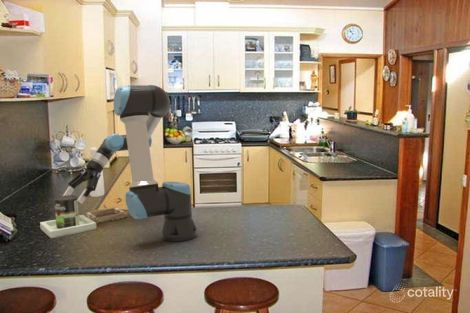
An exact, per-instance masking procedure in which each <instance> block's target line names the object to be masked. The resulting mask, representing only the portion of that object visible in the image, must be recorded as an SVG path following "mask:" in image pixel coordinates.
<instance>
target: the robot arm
mask: <svg viewBox="0 0 470 313" xmlns="http://www.w3.org/2000/svg"><path fill="white" fill-rule="evenodd" d="M170 108H171V100H170V97H169V95H168V93H167V92H166V90H164V89H163V88H161V86H157V85H154V84H150V85H144V84H143V85H138V84H137V85H121V86H119V87H117V88H116V90H115V92H114V96H113V111H114V114H115V116H118V117H119V120H120V121H121V122H122V123H123V124H124V127H125V128H124V129H125V130H124V131H125V134H119V133H112V134H110V135H107V136H106V137H105V138H104V139H103V141H102V143H101V144H100V145H99V147H98V148H97V151H96V152H95V154H94V155H93V157H92V158H91V157H90V160H89V161H88V162H87V164H86V170H84V169H81V170H80V172H79V173H78V174H76V176H75V177H73V178H72V179H71V180H69V182H68V183H67V185H68V187H67V189H66V190H65V192H64V193H63V195H62V196H67V195H72V194H73V192H74V191H75V190H76V189H75V188H76V187H78V186H79V185H81V184H82V183H83V182H86V181H87V182H86V187H85V189H84V190H83V191H82V193H81V194H80V195H79V196H78V200H77V201H78V203H80V204H81V205H82V204H84V202H85V200H86V199H87V198H88V196H90V192H92V191H95V189H96V186H97V183H98V180H99V178H100V176H101V174H100V173H101V172H102V170H103V171H104V168H105V167H106V165H107V164H108V162H109V161H110V159H111V158H112V157H113V156H114V154H115V153H116V152H122V151H128V158H129V167H130V173H131V174H130V175H131V183H130V185H129V186H128V188H129V190H128V191H126V192H125V204H126V208H127V210H128V213H129V215H130V216H131V217H132V218H133V219H135V220H142V219H148V218H154V217H159V216H164V218H163V219H164V220H163V223H162V228H161V231H160V234H161V235H160V237H161V239H162V240H163V241H167V242H183V241H189V240H192V239H195V238H196V237H197V236H198V230H197V229H198V228H197V226H196V225H195V222H194V219H193V209H192V191H191V186H190V185H189V184H188V183H186V182H180V181H165V182H162V185H161V186H159V183H158V181H156V180H155V179H154V172H153V164H152V158H151V150H150V148H151V147H152V142H153V139H152V135H153V133H154V131H155V130H156V128H157V126H158V125H159V123H160V121H161V120H162V118H164V117H166V115H167V114H168V112H169V111H170ZM93 187H94V188H93Z"/></svg>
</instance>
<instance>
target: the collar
mask: <svg viewBox="0 0 470 313" xmlns="http://www.w3.org/2000/svg"><path fill="white" fill-rule="evenodd" d="M113 212H115V213H113ZM108 213H110V214H108ZM116 213H117V214H116ZM85 214H86V217H87V218H89V219H90V220H92V221H94V222H95V223H96V224H100V223H99V222H101V223H104V222H103V221H107V222H109V221H108V220H112V219H117V218H121V217H127V212H126V211H123V210H122V209H120V208H117V207H116V206H115V207H109V208H104V209H98V210H92V211H87V212H85ZM102 214H105V216H103V215H102ZM98 215H99V216H100V217H99V216H98ZM127 218H128V217H127ZM117 220H118V219H117ZM112 221H113V220H112Z"/></svg>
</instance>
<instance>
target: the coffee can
mask: <svg viewBox="0 0 470 313" xmlns="http://www.w3.org/2000/svg"><path fill="white" fill-rule="evenodd" d="M78 198H79V196H77V195H72V194H71V195H67V196H63V195H61V196H58V197H54V198H53V201H54V212H55V220H56V225H57V229H62V228H67V227H72V226H78V225H80V224H79V215H80V214H79V211H80V210H79V202H78V201H77V200H78Z"/></svg>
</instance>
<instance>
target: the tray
mask: <svg viewBox="0 0 470 313" xmlns="http://www.w3.org/2000/svg"><path fill="white" fill-rule="evenodd" d="M39 224H40V225H39V228H40V230H41V231H42V232H43V233H45V235H46V236H48V238H50V239H51V240H52V239H55V238H61V237H66V236H71V235H75V234H76V235H77V234H81V233H86V232H91V231H96V229H97V223H95V222H94V221H92V220H90V219H89V218H87V217H86V216H85V215H84V214H79V224H80V225H78V226H72V227H67V228H62V229H57V225H56V219H52V220H46V221H40V222H39Z"/></svg>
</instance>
